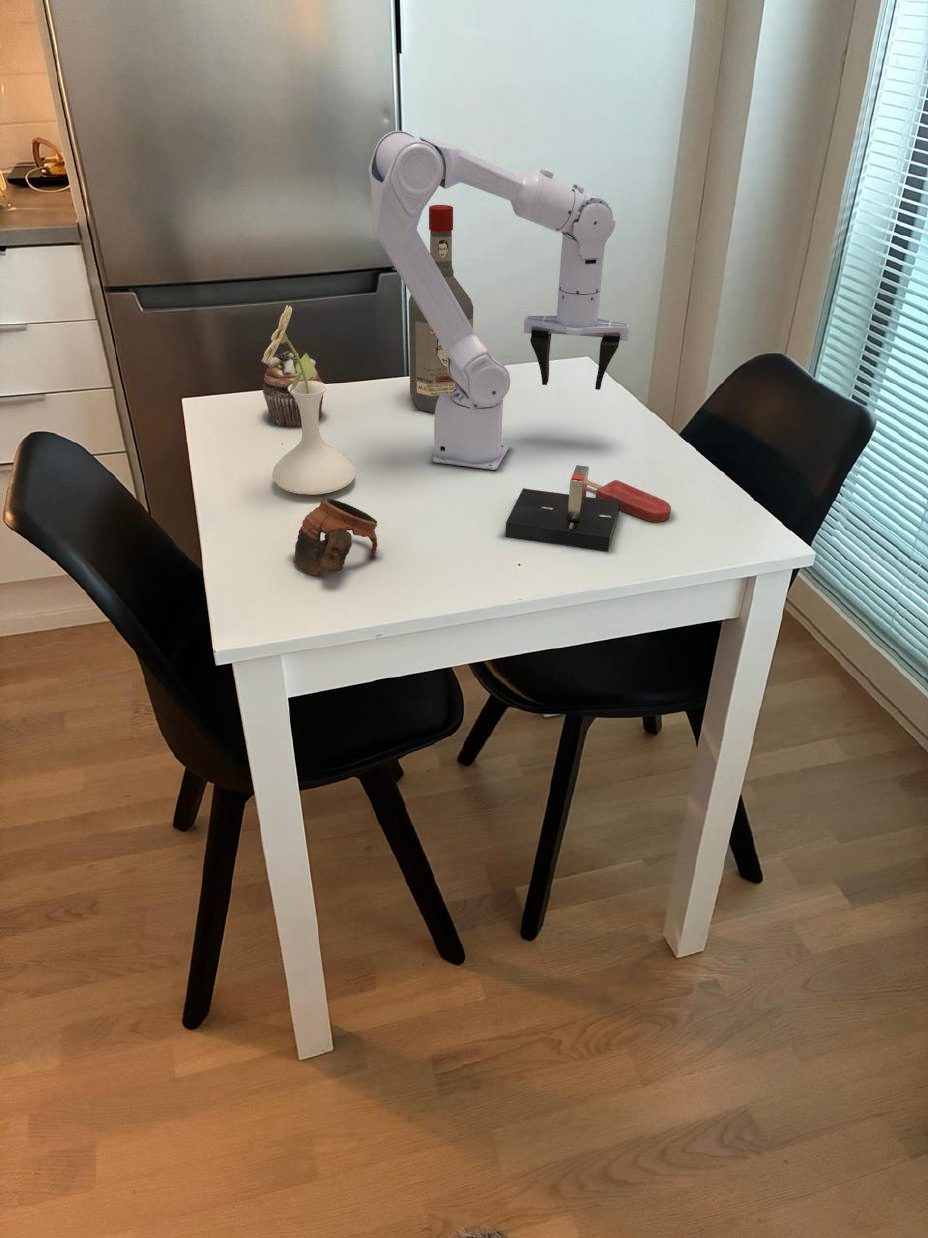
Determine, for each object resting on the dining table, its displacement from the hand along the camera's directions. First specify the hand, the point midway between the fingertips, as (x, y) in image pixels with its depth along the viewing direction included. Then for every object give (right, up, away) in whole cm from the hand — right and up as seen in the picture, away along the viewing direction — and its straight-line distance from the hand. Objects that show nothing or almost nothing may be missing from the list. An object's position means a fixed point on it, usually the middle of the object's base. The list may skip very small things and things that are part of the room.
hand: (571, 384), depth 137 cm
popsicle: (+5, -18, -10) cm, 21 cm away
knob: (-1, -20, -17) cm, 27 cm away
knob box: (-3, -22, -16) cm, 27 cm away
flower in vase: (-36, -16, -7) cm, 40 cm away
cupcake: (-42, -2, +13) cm, 44 cm away
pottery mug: (-31, -27, -24) cm, 48 cm away
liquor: (-19, +2, +19) cm, 27 cm away
